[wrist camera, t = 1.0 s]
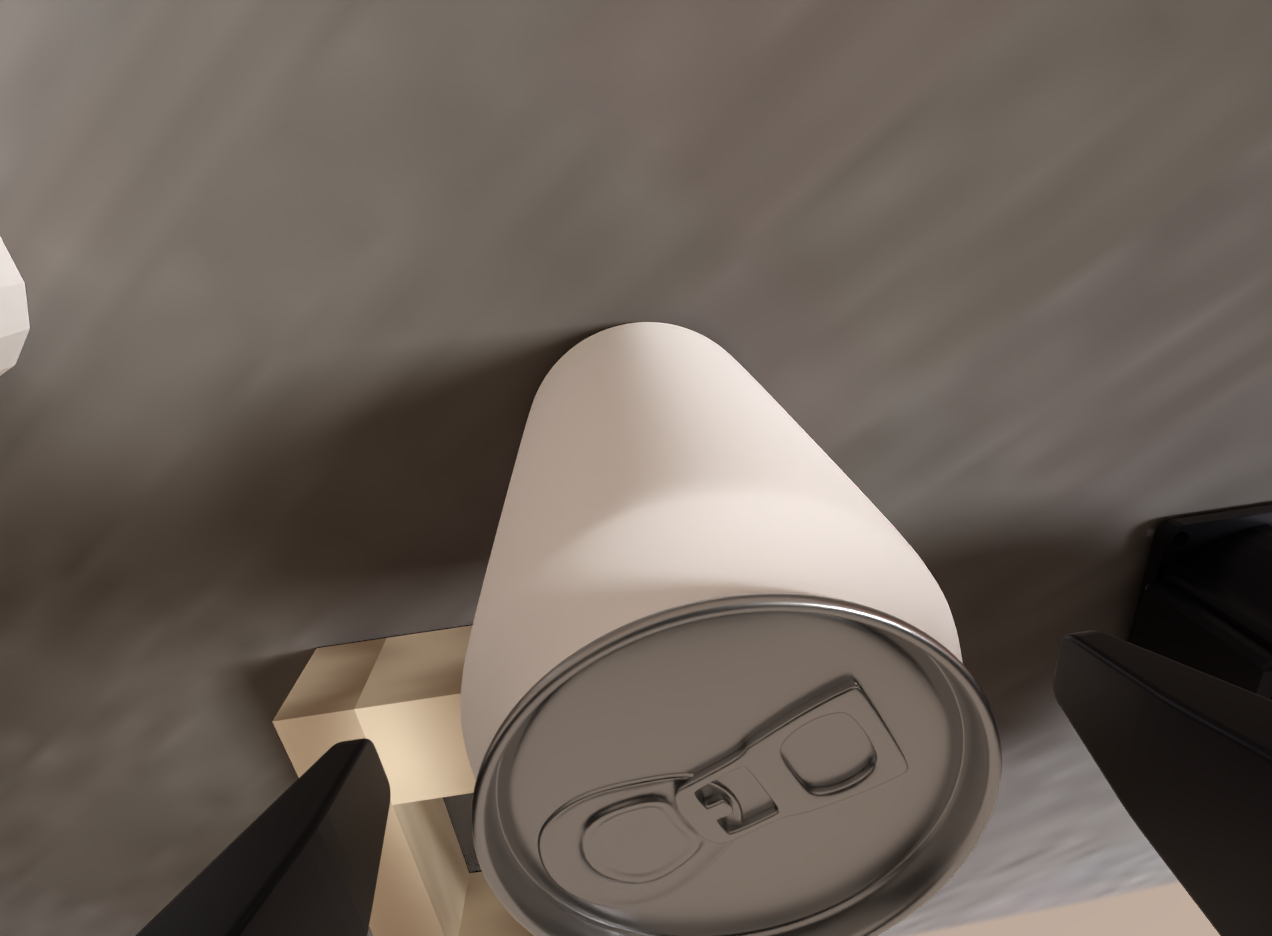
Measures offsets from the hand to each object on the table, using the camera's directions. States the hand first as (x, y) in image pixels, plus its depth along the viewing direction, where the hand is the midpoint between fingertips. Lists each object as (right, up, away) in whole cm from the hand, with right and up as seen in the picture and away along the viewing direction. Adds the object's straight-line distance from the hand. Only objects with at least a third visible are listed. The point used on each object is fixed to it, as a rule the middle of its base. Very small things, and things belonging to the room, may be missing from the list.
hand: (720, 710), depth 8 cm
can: (-1, +4, +10) cm, 11 cm away
